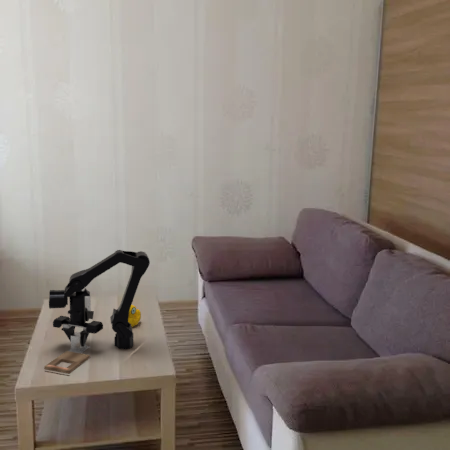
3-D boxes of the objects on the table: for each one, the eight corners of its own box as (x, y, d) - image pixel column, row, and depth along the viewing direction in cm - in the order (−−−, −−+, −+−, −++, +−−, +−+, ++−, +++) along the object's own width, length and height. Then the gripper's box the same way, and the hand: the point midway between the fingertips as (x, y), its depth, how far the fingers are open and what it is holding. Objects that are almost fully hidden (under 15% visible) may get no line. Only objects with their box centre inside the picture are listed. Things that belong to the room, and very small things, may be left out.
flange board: (90, 360, 214) (89, 354, 213) (69, 376, 201) (69, 370, 200) (66, 355, 217) (66, 350, 216) (44, 371, 204) (44, 365, 203)
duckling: (128, 331, 241) (127, 309, 239) (117, 329, 244) (117, 306, 242) (144, 323, 251) (144, 301, 249) (134, 321, 254) (134, 299, 252)
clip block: (85, 347, 222) (85, 333, 221) (80, 351, 218) (79, 337, 217) (76, 346, 223) (76, 331, 222) (71, 350, 219) (70, 335, 218)
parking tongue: (90, 348, 224) (90, 346, 223) (79, 356, 216) (79, 354, 216) (77, 346, 225) (77, 344, 225) (65, 354, 218) (65, 351, 218)
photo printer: (92, 316, 258) (91, 290, 255) (85, 319, 254) (85, 292, 252) (75, 311, 263) (74, 285, 260) (68, 314, 259) (67, 288, 256)
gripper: (109, 303, 222) (110, 341, 225) (67, 297, 227) (68, 334, 230) (95, 312, 211) (95, 352, 215) (51, 306, 217) (52, 344, 220)
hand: (78, 345), depth 220 cm, fingers closed on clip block, 4 cm apart
